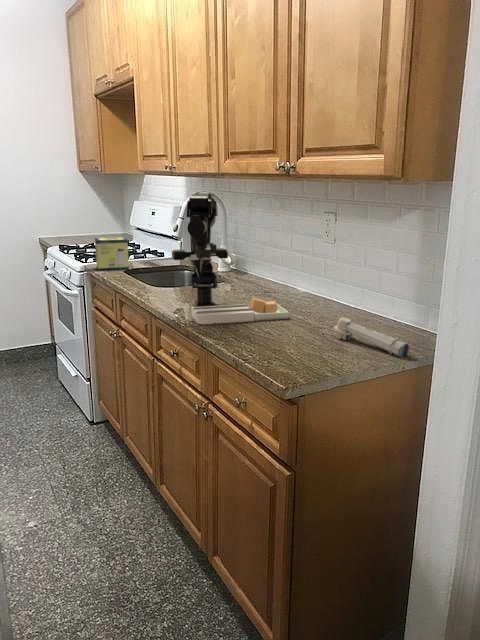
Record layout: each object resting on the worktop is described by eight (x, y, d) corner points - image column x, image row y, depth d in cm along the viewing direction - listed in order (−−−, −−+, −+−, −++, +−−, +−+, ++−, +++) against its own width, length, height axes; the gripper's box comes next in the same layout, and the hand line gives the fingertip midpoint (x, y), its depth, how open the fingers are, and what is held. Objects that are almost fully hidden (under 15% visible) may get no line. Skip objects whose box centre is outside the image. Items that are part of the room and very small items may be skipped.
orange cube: (262, 301, 191) (273, 301, 192) (262, 313, 192) (273, 312, 193) (265, 304, 187) (276, 303, 188) (265, 315, 188) (276, 315, 189)
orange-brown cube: (248, 308, 191) (251, 297, 190) (259, 311, 192) (262, 300, 191) (251, 310, 187) (254, 299, 186) (262, 313, 188) (265, 302, 187)
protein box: (96, 268, 284) (94, 237, 280) (126, 266, 289) (125, 236, 285) (98, 271, 274) (96, 240, 270) (129, 269, 279) (128, 239, 275)
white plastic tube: (400, 345, 146) (332, 314, 164) (395, 368, 148) (328, 334, 167) (412, 342, 149) (344, 311, 167) (407, 364, 152) (340, 331, 170)
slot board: (191, 315, 190) (191, 305, 189) (244, 312, 195) (244, 302, 194) (198, 324, 179) (198, 313, 178) (254, 320, 184) (254, 310, 183)
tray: (245, 312, 195) (245, 306, 194) (277, 310, 198) (277, 304, 197) (255, 320, 184) (255, 314, 183) (289, 318, 187) (289, 312, 186)
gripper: (175, 237, 178) (177, 284, 182) (231, 235, 183) (231, 281, 187) (171, 233, 188) (172, 278, 192) (224, 232, 193) (224, 276, 197)
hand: (200, 278), depth 192 cm, fingers closed
